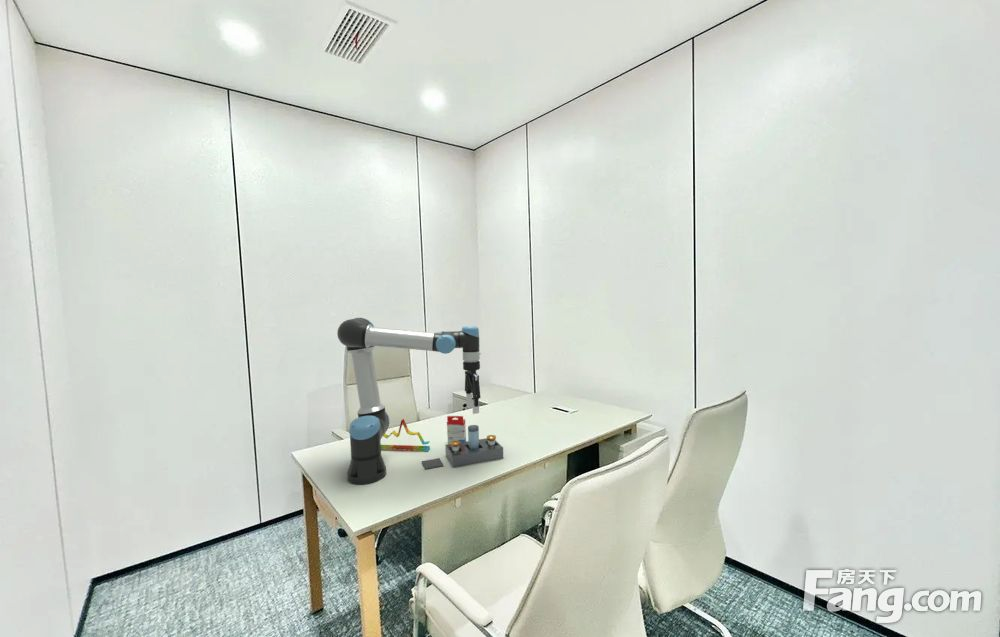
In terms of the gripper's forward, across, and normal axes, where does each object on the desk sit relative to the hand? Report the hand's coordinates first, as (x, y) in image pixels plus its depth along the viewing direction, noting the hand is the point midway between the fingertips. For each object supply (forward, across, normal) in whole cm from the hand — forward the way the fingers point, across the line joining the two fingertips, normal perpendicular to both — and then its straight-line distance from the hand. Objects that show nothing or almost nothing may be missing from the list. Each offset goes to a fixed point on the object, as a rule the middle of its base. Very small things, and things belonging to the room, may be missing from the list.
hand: (472, 410), depth 176 cm
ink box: (+22, +19, +3) cm, 29 cm away
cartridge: (+21, 0, 0) cm, 21 cm away
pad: (+21, 0, +19) cm, 29 cm away
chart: (+22, +23, +31) cm, 44 cm away
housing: (+21, 0, 0) cm, 21 cm away
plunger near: (+21, 0, +9) cm, 22 cm away
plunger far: (+21, 0, -8) cm, 22 cm away
